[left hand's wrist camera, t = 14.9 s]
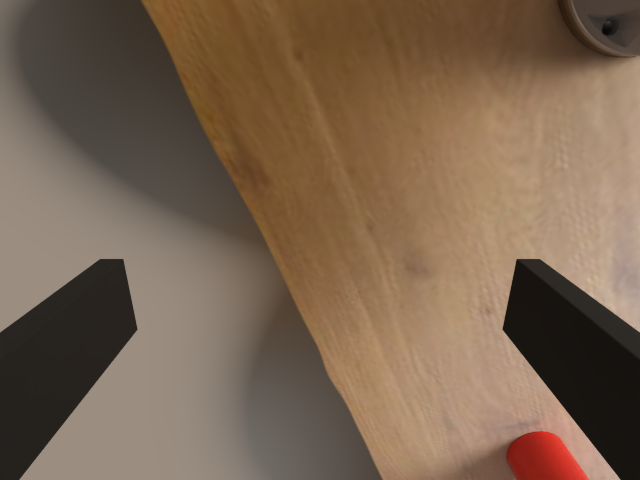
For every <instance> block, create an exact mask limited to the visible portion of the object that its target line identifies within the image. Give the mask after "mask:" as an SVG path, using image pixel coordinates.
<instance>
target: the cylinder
mask: <svg viewBox="0 0 640 480" xmlns="http://www.w3.org/2000/svg"><path fill="white" fill-rule="evenodd" d="M507 462H508V464H509V466H510V468H511V470H512V472H513V474H514V476H515V477H516V479H517V480H589V478H588V477H587V476H586V474H585V473H584V471H583V470H582V468H581V467H580V466H579V464H578V463H577V461H576V460H575V459H574V457H573V456H572V454H571V453H570V451H569V450H568V449H567V447H566V446H565V444H564V443H563V442H562V440H561V439H560V438H559V437H558V436H556V435H554V434H552V433H548V432H533V433H529V434H526V435H524V436H522V437H520V438H518V439H517V440H516V441H514V442H513V443H512V444H511V446H510V447H509V449H508V451H507Z"/></svg>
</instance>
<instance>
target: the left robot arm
mask: <svg viewBox="0 0 640 480" xmlns="http://www.w3.org/2000/svg"><path fill="white" fill-rule="evenodd" d="M558 1H559V5H560V9H561V12H562V14H563V17H564V19H565V21H566V23H567V25H568V27H569V28H570V30H571V31H572V32H573V34H574V35H575V36H576V37H577V38H578V39H579V40H580V41H581V42H582V43H583V44H585V45H586V46H588V47H589V48H591V49H593V50H595V51H597V52H599V53H602V54H606V55H609V56H616V57H630V56H639V55H640V0H558ZM136 331H137V325H136V320H135V315H134V310H133V305H132V300H131V295H130V290H129V285H128V280H127V275H126V271H125V266H124V261H123V259H100V260H98V261H97V262H96V263H94V264H93V265H92V266H90V267H89V268H88V269H86V270H85V271H83V272H82V273H81V274H79V275H78V276H77V277H75V278H74V279H73V280H71V281H70V282H68V283H67V284H66V285H64V286H63V287H62V288H60V289H59V290H58V291H56V292H55V293H53V294H52V295H51V296H49V297H48V298H47V299H45V300H44V301H43V302H41V303H40V304H39V305H37V306H36V307H34V308H33V309H32V310H30V311H29V312H28V313H26V314H25V315H24V316H22V317H21V318H20V319H18V320H17V321H15V322H14V323H13V324H11V325H10V326H9V327H7V328H6V329H4V330H3V331H2V332H0V480H19V479H20V478H21V477H22V475H23V474H24V473H25V472H26V470H27V469H28V468H29V467H30V465H31V464H32V463H33V461H34V460H35V459H36V458H37V456H38V455H39V454H40V453H41V451H42V450H43V449H44V447H45V446H46V445H47V444H48V442H49V441H50V440H51V439H52V437H53V436H54V435H55V434H56V432H57V431H58V430H59V428H60V427H61V426H62V425H63V423H64V422H65V421H66V420H67V418H68V417H69V416H70V414H71V413H72V412H73V411H74V409H75V408H76V407H77V406H78V404H79V403H80V402H81V400H82V399H83V398H84V397H85V395H86V394H87V393H88V392H89V390H90V389H91V388H92V387H93V385H94V384H95V383H96V381H97V380H98V379H99V378H100V376H101V375H102V374H103V373H104V371H105V370H106V369H107V368H108V366H109V365H110V364H111V362H112V361H113V360H114V359H115V357H116V356H117V355H118V354H119V352H120V351H121V350H122V348H123V347H124V346H125V345H126V343H127V342H128V341H129V340H130V338H131V337H132V336H133V334H134V333H135V332H136ZM503 331H504V332H505V333H506V334H507V336H508V337H509V338H510V340H511V341H512V342H513V343H514V345H515V346H516V347H517V348H518V350H519V351H520V352H521V354H522V355H523V356H524V357H525V359H526V360H527V361H528V362H529V364H530V365H531V366H532V368H533V369H534V370H535V371H536V373H537V374H538V375H539V376H540V378H541V379H542V380H543V381H544V383H545V384H546V385H547V387H548V388H549V389H550V390H551V392H552V393H553V394H554V395H555V397H556V398H557V399H558V401H559V402H560V403H561V404H562V406H563V407H564V408H565V409H566V411H567V412H568V413H569V414H570V416H571V417H572V418H573V420H574V421H575V422H576V423H577V425H578V426H579V427H580V428H581V430H582V431H583V432H584V434H585V435H586V436H587V437H588V439H589V440H590V441H591V442H592V444H593V445H594V446H595V448H596V449H597V450H598V451H599V453H600V454H601V455H602V456H603V458H604V459H605V460H606V461H607V463H608V464H609V465H610V467H611V468H612V469H613V470H614V472H615V473H616V474H617V475H618V477H619V478H620V479H621V480H640V332H638V331H637V330H636V329H634V328H633V327H631V326H630V325H629V324H627V323H626V322H625V321H623V320H622V319H621V318H619V317H618V316H616V315H615V314H614V313H612V312H611V311H610V310H608V309H607V308H606V307H604V306H603V305H601V304H600V303H599V302H597V301H596V300H595V299H593V298H592V297H591V296H589V295H588V294H587V293H585V292H584V291H582V290H581V289H580V288H578V287H577V286H576V285H574V284H573V283H572V282H570V281H569V280H567V279H566V278H565V277H563V276H562V275H561V274H559V273H558V272H557V271H555V270H554V269H552V268H551V267H550V266H548V265H547V264H546V263H544V262H543V261H542V260H540V259H517V261H516V266H515V271H514V275H513V280H512V285H511V290H510V295H509V300H508V305H507V310H506V315H505V320H504V325H503Z"/></svg>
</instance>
